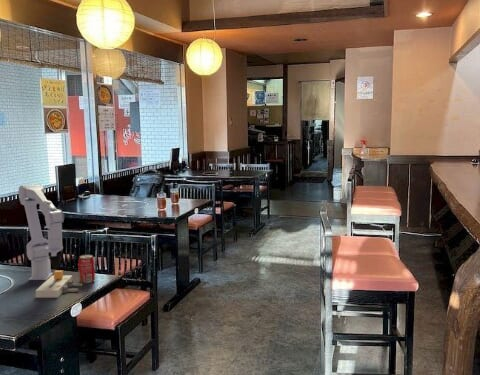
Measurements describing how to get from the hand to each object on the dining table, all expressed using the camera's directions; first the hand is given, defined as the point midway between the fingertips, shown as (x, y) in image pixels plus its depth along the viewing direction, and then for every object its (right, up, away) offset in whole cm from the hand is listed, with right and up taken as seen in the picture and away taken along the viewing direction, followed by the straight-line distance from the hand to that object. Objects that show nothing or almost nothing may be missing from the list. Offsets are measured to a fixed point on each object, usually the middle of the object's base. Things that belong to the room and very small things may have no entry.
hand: (56, 267), depth 202 cm
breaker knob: (0, -5, +2) cm, 5 cm away
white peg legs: (+8, -9, -2) cm, 12 cm away
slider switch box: (+1, -9, -2) cm, 9 cm away
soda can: (+11, -8, +8) cm, 16 cm away
